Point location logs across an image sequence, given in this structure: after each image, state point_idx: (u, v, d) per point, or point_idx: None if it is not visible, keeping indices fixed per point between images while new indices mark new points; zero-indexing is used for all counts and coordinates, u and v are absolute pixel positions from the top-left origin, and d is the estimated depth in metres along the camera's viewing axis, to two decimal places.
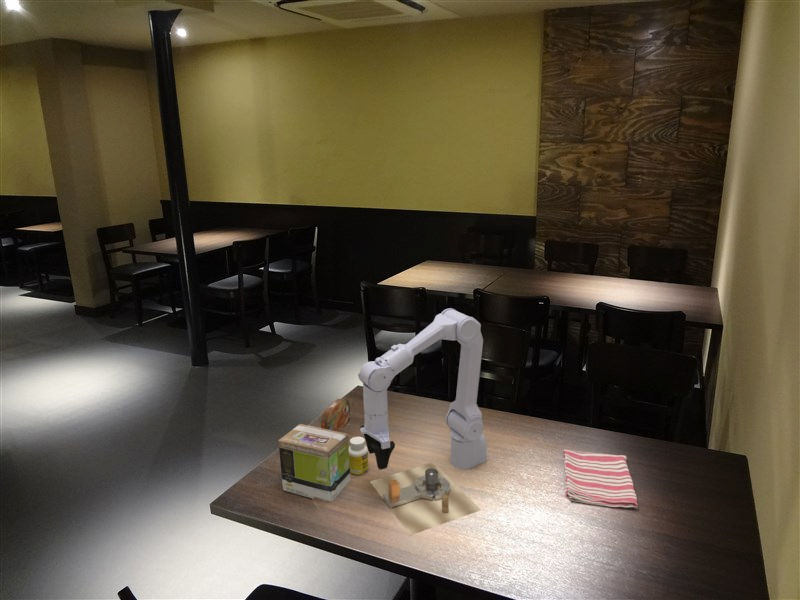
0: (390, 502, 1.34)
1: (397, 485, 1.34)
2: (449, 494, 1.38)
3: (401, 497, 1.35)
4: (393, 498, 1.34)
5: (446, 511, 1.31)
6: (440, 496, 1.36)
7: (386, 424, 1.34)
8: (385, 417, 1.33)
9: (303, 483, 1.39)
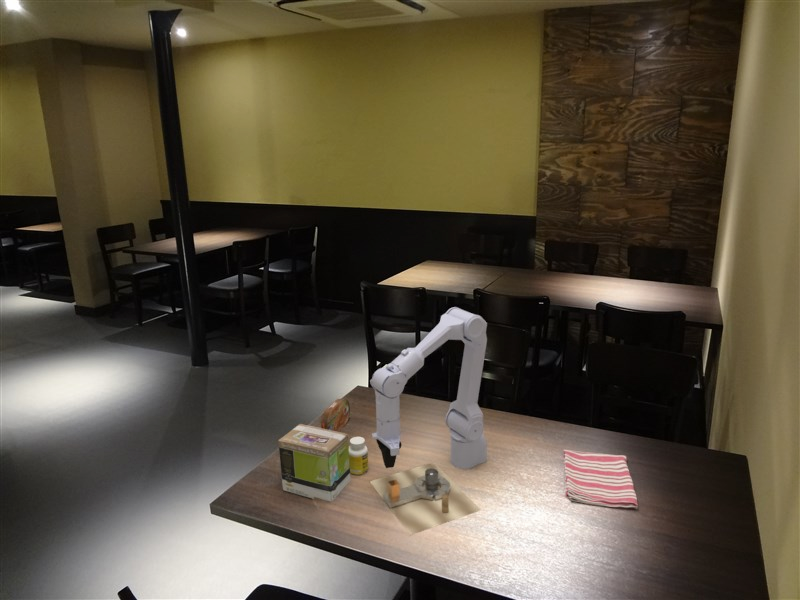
0: (390, 502, 1.34)
1: (397, 485, 1.34)
2: (449, 494, 1.38)
3: (401, 497, 1.35)
4: (393, 498, 1.34)
5: (446, 511, 1.31)
6: (440, 496, 1.36)
7: (397, 431, 1.34)
8: (396, 424, 1.33)
9: (303, 483, 1.39)
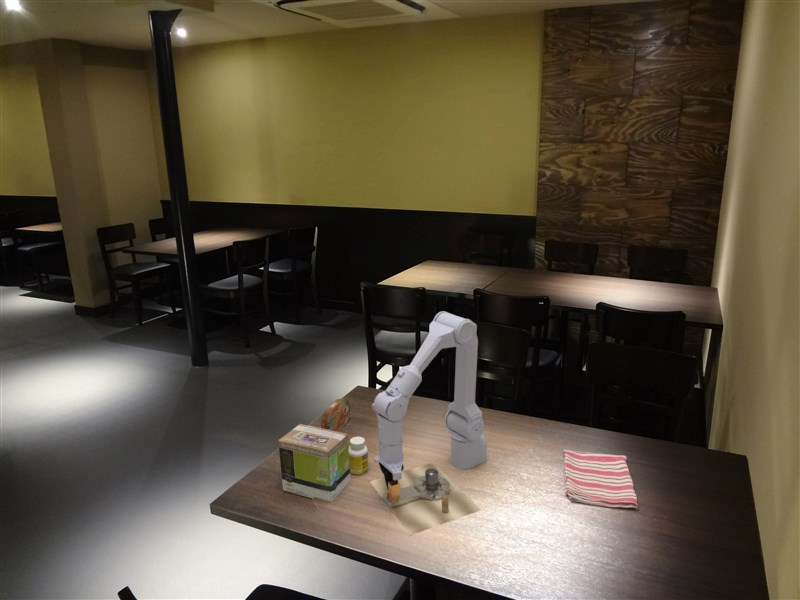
0: (390, 502, 1.34)
1: (397, 485, 1.34)
2: (449, 494, 1.38)
3: (401, 497, 1.35)
4: (393, 498, 1.34)
5: (446, 511, 1.31)
6: (440, 496, 1.36)
7: (400, 454, 1.33)
8: (399, 447, 1.33)
9: (302, 483, 1.39)
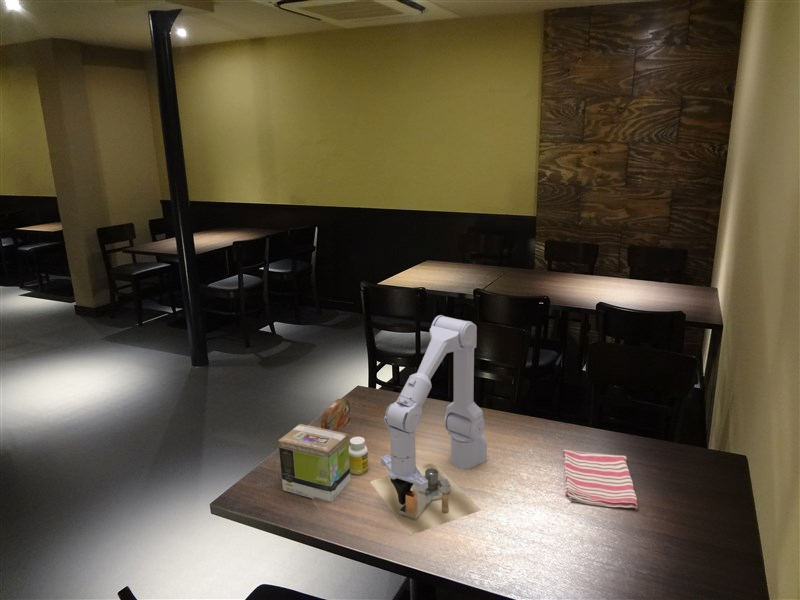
0: (413, 514, 1.29)
1: (416, 495, 1.30)
2: (449, 494, 1.38)
3: (418, 506, 1.32)
4: (414, 509, 1.30)
5: (446, 511, 1.31)
6: (447, 491, 1.38)
7: (415, 464, 1.29)
8: (415, 457, 1.28)
9: (303, 483, 1.39)
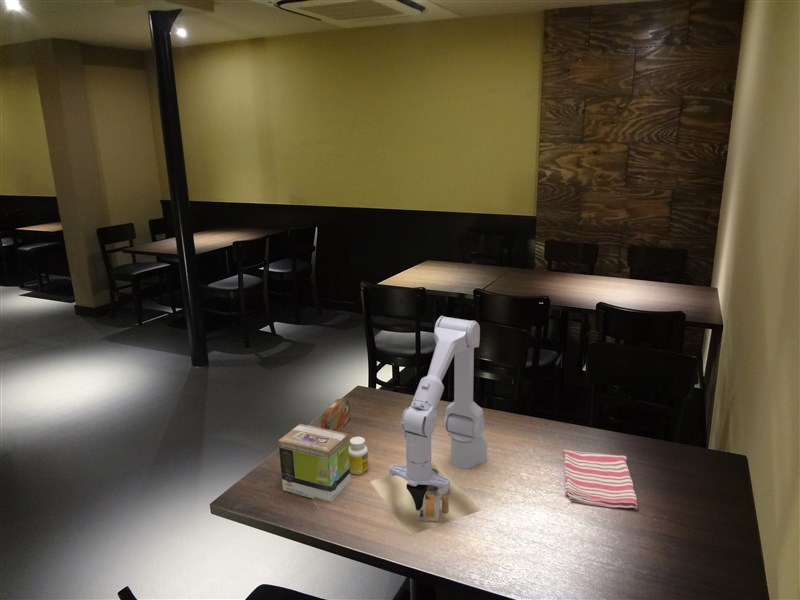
0: (436, 516, 1.28)
1: (434, 497, 1.29)
2: (449, 494, 1.38)
3: (434, 507, 1.31)
4: (434, 512, 1.29)
5: (446, 511, 1.31)
6: (449, 487, 1.40)
7: None
8: None
9: (303, 483, 1.39)
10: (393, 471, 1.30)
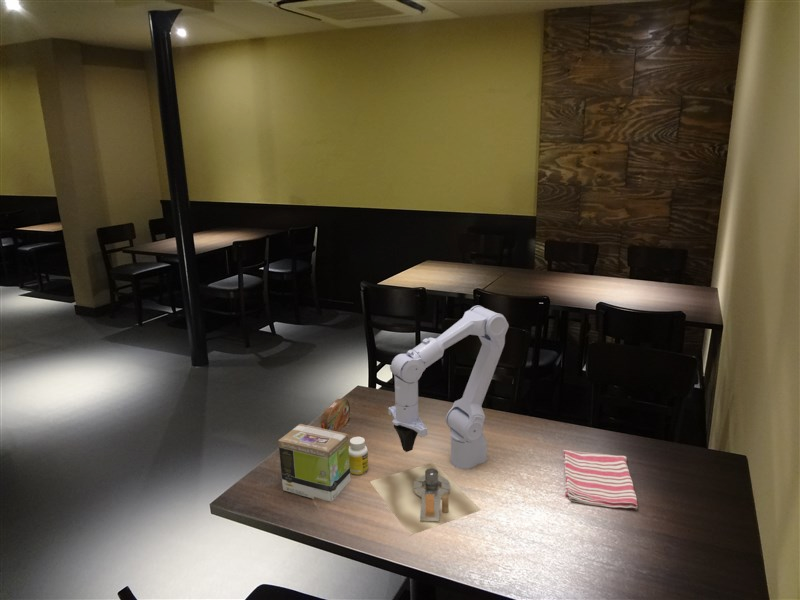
0: (436, 516, 1.28)
1: (434, 497, 1.29)
2: (449, 494, 1.38)
3: (434, 507, 1.31)
4: (434, 512, 1.29)
5: (446, 511, 1.31)
6: (449, 487, 1.40)
7: None
8: (417, 407, 1.38)
9: (303, 483, 1.39)
10: (390, 410, 1.44)
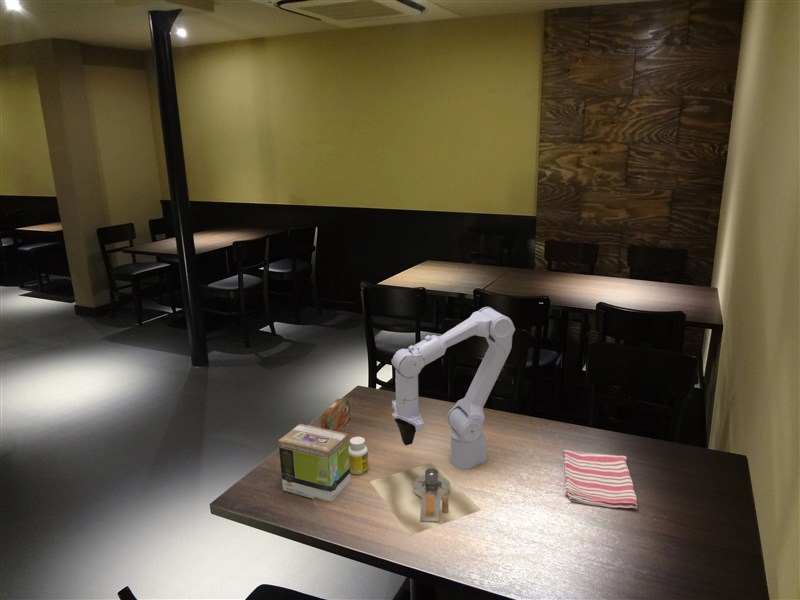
0: (436, 516, 1.28)
1: (434, 497, 1.29)
2: (449, 494, 1.38)
3: (434, 507, 1.31)
4: (434, 512, 1.29)
5: (446, 511, 1.31)
6: (449, 487, 1.40)
7: (417, 408, 1.41)
8: (417, 401, 1.40)
9: (303, 483, 1.39)
10: (393, 404, 1.47)
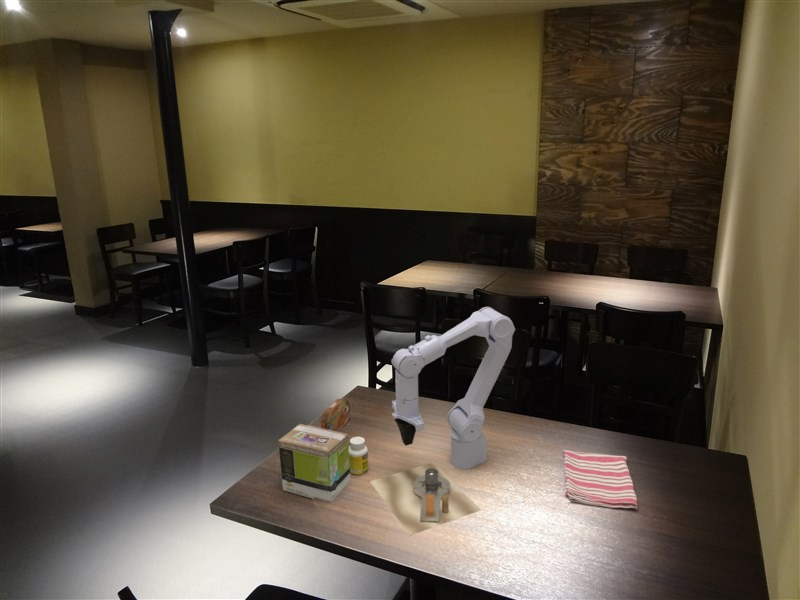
0: (436, 516, 1.28)
1: (434, 497, 1.29)
2: (449, 494, 1.38)
3: (434, 507, 1.31)
4: (434, 512, 1.29)
5: (446, 511, 1.31)
6: (449, 487, 1.40)
7: (417, 408, 1.41)
8: (417, 401, 1.40)
9: (303, 483, 1.39)
10: (393, 404, 1.47)
